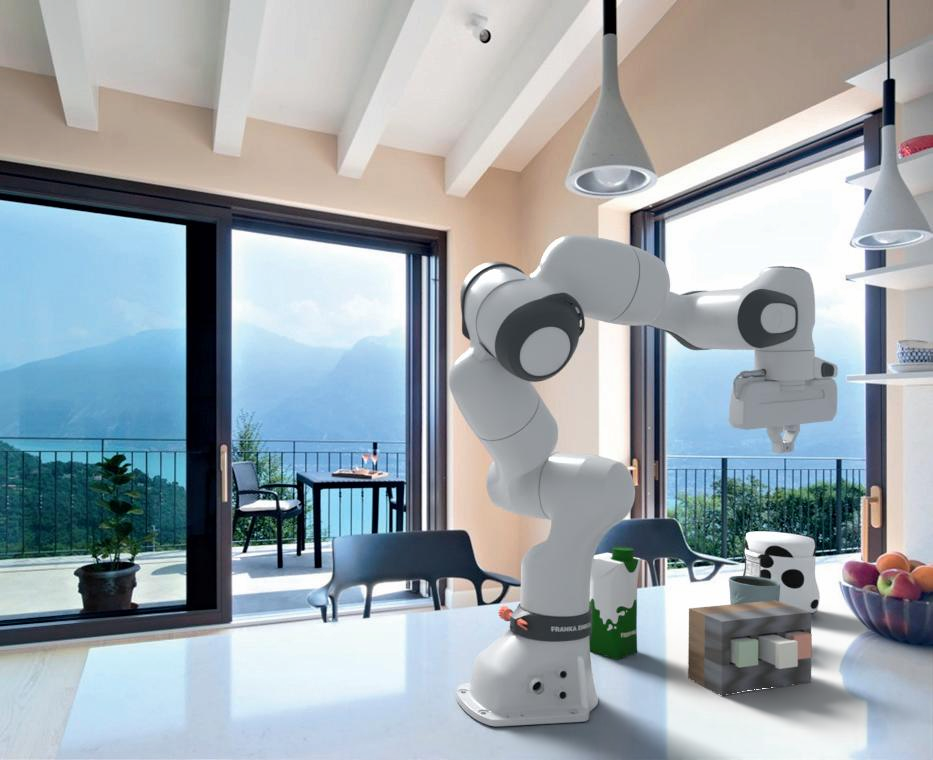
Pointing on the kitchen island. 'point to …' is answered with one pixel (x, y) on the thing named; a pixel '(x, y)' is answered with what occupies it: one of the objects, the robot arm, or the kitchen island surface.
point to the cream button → (778, 651)
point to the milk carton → (614, 603)
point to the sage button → (743, 651)
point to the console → (738, 620)
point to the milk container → (785, 566)
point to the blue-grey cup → (753, 589)
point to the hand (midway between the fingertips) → (782, 452)
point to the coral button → (801, 642)
